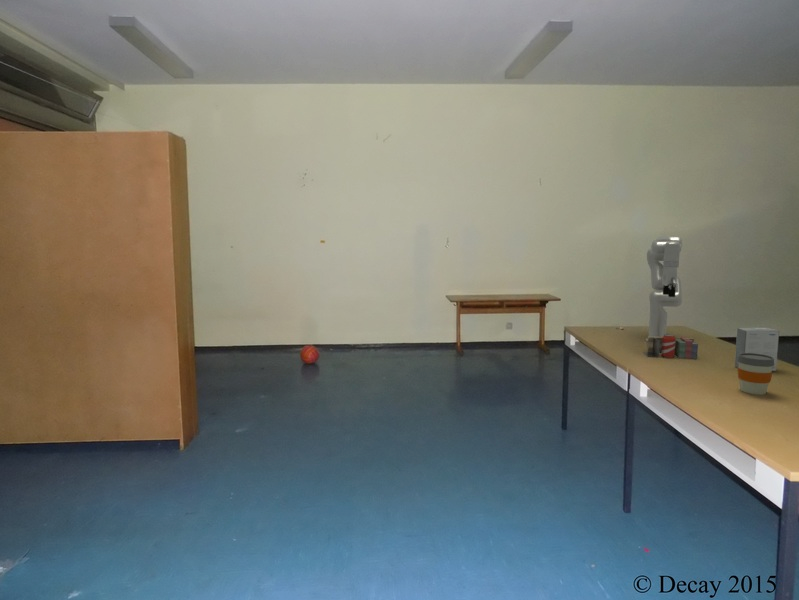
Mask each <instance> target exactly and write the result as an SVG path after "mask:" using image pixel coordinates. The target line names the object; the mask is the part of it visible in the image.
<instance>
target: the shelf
mask: <svg viewBox="0 0 799 600" xmlns="http://www.w3.org/2000/svg"><path fill="white" fill-rule="evenodd" d="M647 338H648V342H647V343H646V344H647V345H646V346H647V347H646V352H650V353H653V338H654V337H649V336H647ZM655 338H656V339H658V340H659V341H660V351H659V353H662V340H663V337H655ZM675 338H676V339H675V353H674V357H677V358H678V359H687V358H692V359H691V360H697V359H698V350H699V348H698V347H699V344H698V343H697V342H695V338H693V337H691V338H690V337H675Z"/></svg>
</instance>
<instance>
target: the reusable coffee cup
mask: <svg viewBox="0 0 799 600" xmlns="http://www.w3.org/2000/svg"><path fill="white" fill-rule="evenodd" d="M738 363H739V367H738V368H737V378H738V380H739V390H740V391H741V392H743V393H745V394H751V395H757V396H758V395H759V396H761V395H766V394H767V390H768V386H769V384H770V383H771V380H772V376H773V372H774V371H772V368H773V366H774V358H773V357H771V356H767V355H762V354H754V353H741V354H739V356H738Z"/></svg>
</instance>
